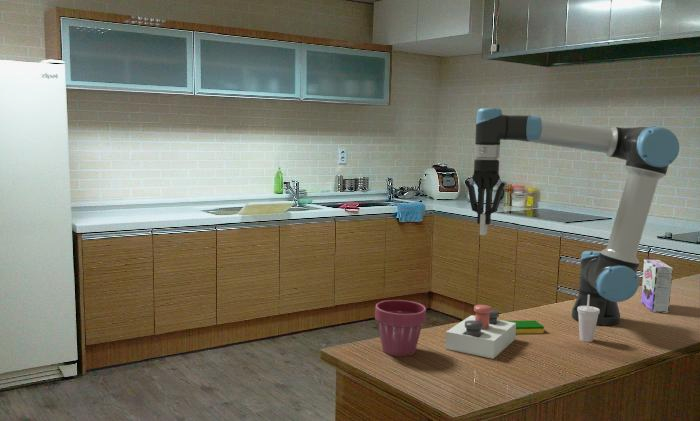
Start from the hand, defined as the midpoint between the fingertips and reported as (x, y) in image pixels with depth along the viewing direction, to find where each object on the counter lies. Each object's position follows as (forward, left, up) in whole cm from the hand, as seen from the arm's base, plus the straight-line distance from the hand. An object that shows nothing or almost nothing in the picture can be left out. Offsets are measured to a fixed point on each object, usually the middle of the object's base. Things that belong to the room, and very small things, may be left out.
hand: (483, 234), depth 201 cm
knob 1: (-7, +24, -27) cm, 37 cm away
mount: (-7, +17, -29) cm, 34 cm away
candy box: (-45, -58, -30) cm, 79 cm away
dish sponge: (-12, -3, -30) cm, 32 cm away
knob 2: (-7, +10, -27) cm, 30 cm away
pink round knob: (-7, +17, -24) cm, 30 cm away
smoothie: (-32, -5, -30) cm, 44 cm away
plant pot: (+10, +36, -30) cm, 48 cm away
